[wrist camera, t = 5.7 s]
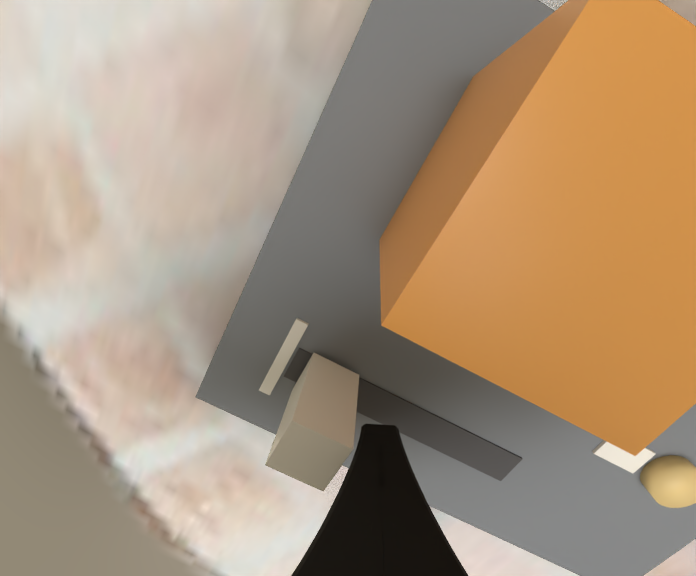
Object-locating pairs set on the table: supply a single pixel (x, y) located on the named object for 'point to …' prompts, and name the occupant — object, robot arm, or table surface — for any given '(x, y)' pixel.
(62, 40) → the table surface
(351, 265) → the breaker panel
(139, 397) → the table surface
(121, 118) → the table surface
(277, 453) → the switch
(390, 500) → the robot arm
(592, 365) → the cap
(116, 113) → the table surface
